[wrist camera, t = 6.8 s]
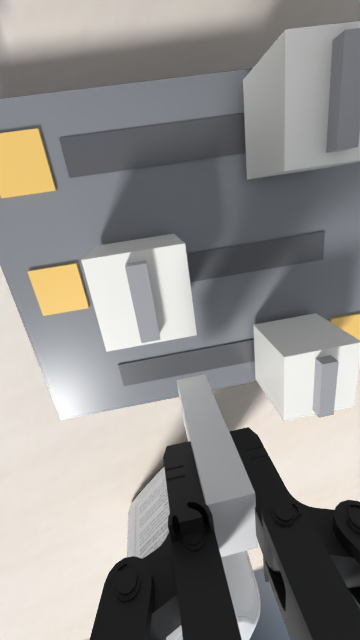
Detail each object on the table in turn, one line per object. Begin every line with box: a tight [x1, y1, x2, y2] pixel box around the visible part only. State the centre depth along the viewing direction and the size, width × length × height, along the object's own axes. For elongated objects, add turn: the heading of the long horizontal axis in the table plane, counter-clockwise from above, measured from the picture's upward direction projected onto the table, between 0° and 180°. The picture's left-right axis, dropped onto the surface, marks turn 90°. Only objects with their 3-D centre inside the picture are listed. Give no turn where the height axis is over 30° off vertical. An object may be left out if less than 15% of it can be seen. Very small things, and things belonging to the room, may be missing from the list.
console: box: [0, 68, 360, 420], centre depth 17 cm, size 22×17×3 cm
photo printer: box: [127, 467, 260, 640], centre depth 21 cm, size 10×4×12 cm, turn 143°
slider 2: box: [253, 313, 360, 421], centre depth 16 cm, size 4×4×5 cm
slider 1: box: [243, 21, 360, 180], centre depth 11 cm, size 4×4×5 cm
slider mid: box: [81, 234, 197, 352], centre depth 13 cm, size 4×4×5 cm
